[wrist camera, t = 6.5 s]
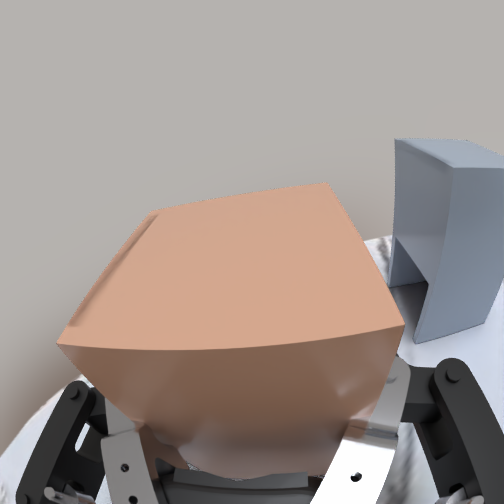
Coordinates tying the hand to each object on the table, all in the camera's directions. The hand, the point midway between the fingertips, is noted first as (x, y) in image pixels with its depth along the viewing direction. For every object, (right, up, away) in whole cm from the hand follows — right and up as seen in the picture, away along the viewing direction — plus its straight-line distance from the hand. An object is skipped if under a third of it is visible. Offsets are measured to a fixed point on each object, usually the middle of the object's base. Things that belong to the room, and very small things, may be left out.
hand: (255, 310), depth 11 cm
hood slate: (+13, -1, +6) cm, 14 cm away
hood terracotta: (+1, -7, +1) cm, 7 cm away
